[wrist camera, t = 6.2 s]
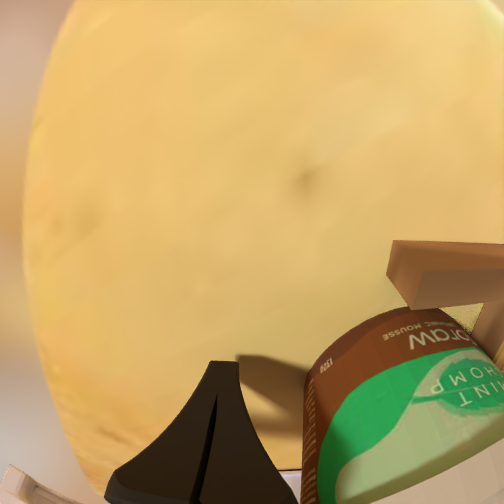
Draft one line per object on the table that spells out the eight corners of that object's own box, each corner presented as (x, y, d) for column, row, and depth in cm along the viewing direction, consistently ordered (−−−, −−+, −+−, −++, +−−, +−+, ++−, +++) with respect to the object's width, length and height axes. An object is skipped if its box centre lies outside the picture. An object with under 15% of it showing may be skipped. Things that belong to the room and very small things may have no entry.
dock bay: (443, 400, 15) (457, 429, 12) (338, 420, 15) (346, 457, 13) (516, 245, 10) (549, 269, 7) (393, 240, 10) (427, 275, 8)
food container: (502, 271, 11) (614, 396, 2) (468, 357, 13) (534, 479, 4) (271, 295, 11) (283, 585, 2) (275, 392, 14) (279, 577, 5)
